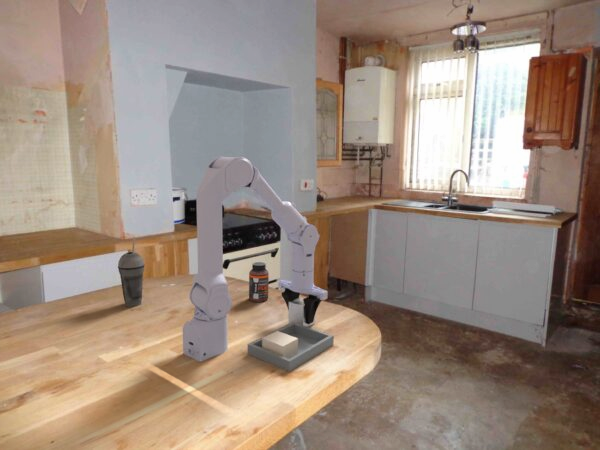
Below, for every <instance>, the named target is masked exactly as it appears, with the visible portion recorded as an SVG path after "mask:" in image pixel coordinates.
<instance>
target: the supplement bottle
mask: <svg viewBox="0 0 600 450" xmlns="http://www.w3.org/2000/svg"><path fill="white" fill-rule="evenodd" d="M269 276H270V275H269V271H268V269H267V266H266V263H265V262H262V261H258V262H257V261H256V262H253V263H252V266H251V269H250V270H249V272H248V299H249V300H250V301H252V302H256V303H261V302H266V301H268V299H269V294H270V293H269V292H270V291H269V284H270V283H269V280H270V279H269V278H270V277H269Z"/></svg>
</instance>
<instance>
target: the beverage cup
mask: <svg viewBox="0 0 600 450" xmlns="http://www.w3.org/2000/svg"><path fill="white" fill-rule="evenodd" d="M135 245H136V236H133V237H132V246H131V247H132V248H131V249H132V250H131V251H128V252H126V253H124V254H123V255H121V257H120V258H119V260H118V265H117V268H118V269H117V270H118V273H119V275H120V282H121V287H122V288H121V289H122V295H123V300H124V305H125V306H126V307H131V308H133V307H138V306H140V305H142V303H143V302H142V298H143V287H144V286H143V284H144V283H143V282H144V281H143V280H144V270H145V266H146V265H145V261H144V259H143V258H142V256H141V255H140V254H139V253H138V252H135Z"/></svg>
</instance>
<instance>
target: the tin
mask: <svg viewBox="0 0 600 450" xmlns="http://www.w3.org/2000/svg"><path fill="white" fill-rule="evenodd" d="M304 298H305V297H302V296H299V298H297V299H294V300H292V301H289V311H288V325H289V324H291V323H293V322H294V323H297V324H300V325H303V326H306V327H309V328H310V327H311V326H314V324H315V317H316V316H315V317H314V321H313V322H312V323H310V324H307V323H306V309H305V304H304V301H303V299H304Z"/></svg>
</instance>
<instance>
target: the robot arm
mask: <svg viewBox="0 0 600 450" xmlns="http://www.w3.org/2000/svg"><path fill="white" fill-rule="evenodd" d="M205 167H206V170H205V173H204V175H203V177H202V180H200V184H199V185H198V187H197V189H196V231H197V232H196V237H197V239H196V240H197V243H196V244H197V246H196V247H197V273H196V274H195V275H194V276H193V279H192V280H193V283H192V286H191V289H190V291H189V300H190V302H191V304H192V305H193V306H194V311H193V316H192V318H191V319H190V320H188V321H186V322H185V323H184V324H183V327H182V352H183V353H182V354H184V356H187V357H189V358H191V359H194V360H196V361H197V362H203V361H206V360H208V359H210V358H213V357H216V356H220V355H222V354H225V353H226V352H227V350H228V314H229V312H230V311H231V308H232V306H233V299H232V296H231V294H230V293H229V286H228V281H227V279H226V277H225V274H224V267H223V266H224V263H223V262H224V261H223V260H224V259H223V258H224V255H223V253H224V251H223V249H224V248H223V247H224V245H223V201H224V200H225V199H227V198H228V197H229V196H230V195H231V194H232V193H234V192H236V191H239V190H241V189H247V190H249V191H250V192H251V193H252V194H254V196H255V197H257V198H258V199H259V200H260V201H261V202H262V203H263V204H264V205H265V206H266V207H267V208H268V209H269V210H270V211H271V219H272V220H273V221H274V222H275V224H277V225H278V226H279V227H280V229H282V231H283V232H284V233H286V239H287V240H288V241H289V242H291V252H290V253H291V254H290V255H291V259H290V261H291V262H290V264H291V265H290V268H291V269H290V272H291V273H290V280H287V279H281V280H278V286H277V287H278V289H279V290H282V289H284V291H282V292H281V297H282V298H283V300H284V302H285V305H286V307H287V312H289V301H292V300H294V299H297V298H299V297H300V295H301V294H303V295H306V296H307V297H303V298H304V299H303V301H304V304H305V309H306V323H307V324H310V323H312V322H313V321H314V317H316V313H317V310H318V308H319V306H320V304H321V302H322V301H325V300H327V299H328V295H329V293H328V290H325V289H323V288H320V287H318V286H316V285H315V282H314V280H315V279H314V274H315V271H314V269H315V251H316V246H317V244H318V242H319V240H320V237H321V235H320V233H319V232H318V229H317V227H316V226H315V225H314V224H311V223H308V219H307V217H306V216H305V215H304V216H303V215H302V214H301V213H300V212H299V210H297V209H296V208H297V205H296V204H295V203H294V202H290V201H288V200H285V201H283V200H282V199H281V198H280V197H279V195H278V194H277V193H276V192H275V190H274V189H273V188H272V187H271V186H270V185H269V183H268V182H267V181H266V179H265V178H264V177H263V175H261V173H260V171H259V169H258V168H257V166H254V165H253V164H252V162H251V161H250V160H249V159H247V158H246V157H243V156H238V157H232V156H230V157H229V156H222V155H221V156H218V157H216V158H214V159H213V160H212V161H211V162H210V163H208V164H207V165H206V166H205Z"/></svg>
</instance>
